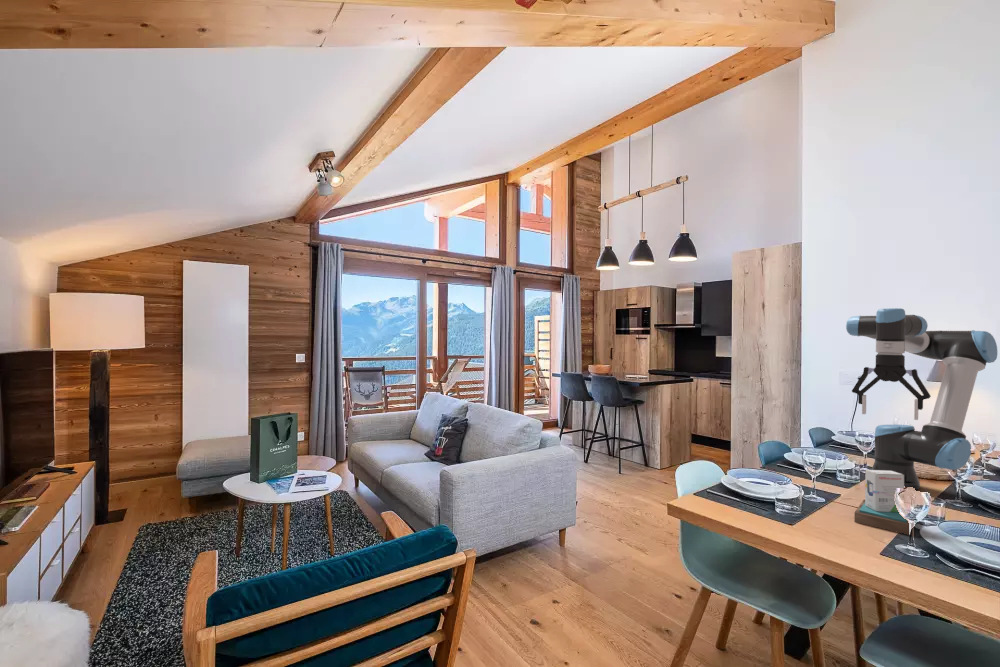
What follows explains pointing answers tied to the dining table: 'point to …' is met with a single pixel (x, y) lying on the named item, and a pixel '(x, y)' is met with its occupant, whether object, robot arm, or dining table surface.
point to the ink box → (882, 489)
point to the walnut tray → (881, 519)
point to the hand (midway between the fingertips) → (889, 416)
